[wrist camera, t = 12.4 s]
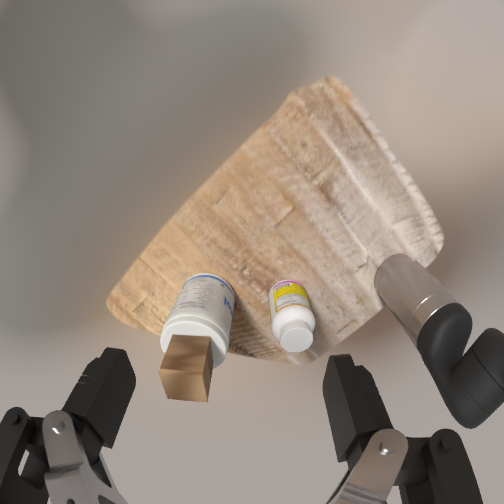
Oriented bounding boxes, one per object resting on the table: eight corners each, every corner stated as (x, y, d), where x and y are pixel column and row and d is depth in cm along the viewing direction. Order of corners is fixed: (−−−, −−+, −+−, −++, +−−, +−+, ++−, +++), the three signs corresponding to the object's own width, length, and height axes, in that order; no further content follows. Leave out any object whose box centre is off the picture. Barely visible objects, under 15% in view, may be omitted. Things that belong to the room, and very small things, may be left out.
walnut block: (210, 336, 33) (202, 376, 27) (213, 363, 35) (207, 402, 28) (172, 334, 33) (158, 372, 27) (178, 361, 35) (167, 398, 28)
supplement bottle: (294, 314, 49) (304, 362, 37) (262, 302, 48) (264, 350, 36) (312, 285, 47) (329, 330, 35) (279, 271, 46) (287, 316, 34)
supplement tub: (241, 310, 49) (237, 368, 35) (193, 320, 50) (177, 376, 36) (224, 264, 45) (213, 315, 32) (174, 276, 46) (147, 327, 33)
